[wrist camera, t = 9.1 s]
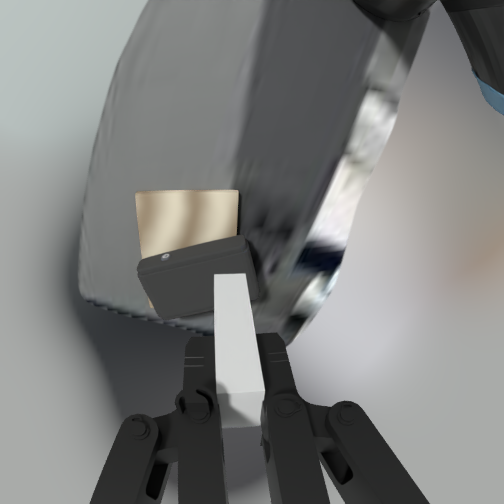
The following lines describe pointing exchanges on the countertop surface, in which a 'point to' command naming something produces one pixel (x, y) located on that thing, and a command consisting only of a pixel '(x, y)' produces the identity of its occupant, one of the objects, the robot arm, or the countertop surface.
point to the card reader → (194, 275)
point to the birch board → (184, 218)
